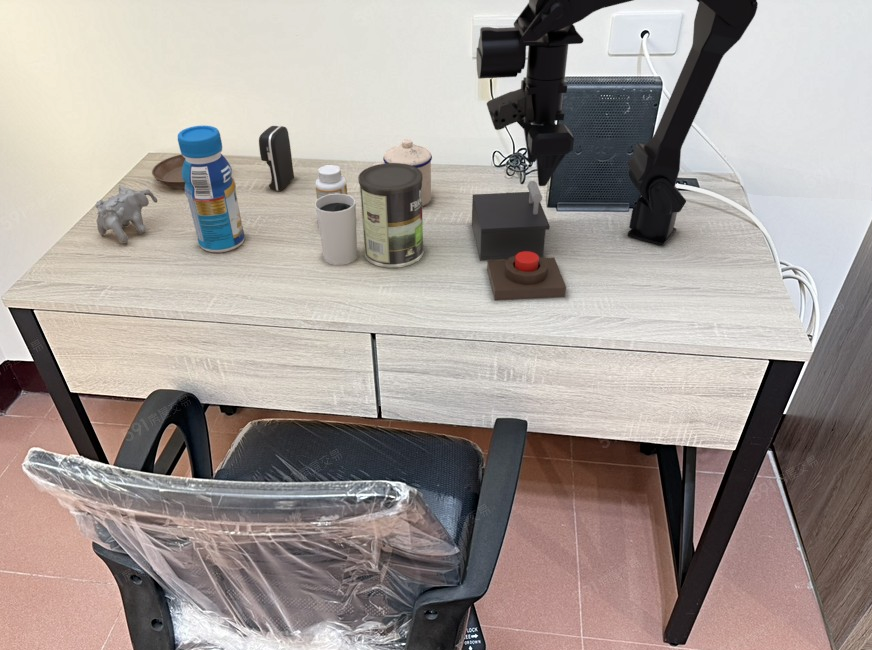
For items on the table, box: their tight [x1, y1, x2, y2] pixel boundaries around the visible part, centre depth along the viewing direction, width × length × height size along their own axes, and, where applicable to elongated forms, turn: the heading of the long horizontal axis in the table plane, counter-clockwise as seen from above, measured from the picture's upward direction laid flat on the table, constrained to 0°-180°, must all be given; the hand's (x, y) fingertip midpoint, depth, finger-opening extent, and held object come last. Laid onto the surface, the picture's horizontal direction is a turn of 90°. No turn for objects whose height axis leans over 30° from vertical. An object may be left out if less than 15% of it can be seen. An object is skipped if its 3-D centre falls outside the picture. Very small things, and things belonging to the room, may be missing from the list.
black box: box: [471, 198, 547, 262], centre depth 122 cm, size 11×13×5 cm
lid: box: [471, 180, 551, 233], centre depth 119 cm, size 11×13×4 cm
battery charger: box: [258, 125, 295, 192], centre depth 141 cm, size 7×4×11 cm, turn 162°
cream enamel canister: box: [371, 139, 433, 207], centre depth 134 cm, size 12×9×12 cm
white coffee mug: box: [314, 194, 358, 266], centre depth 118 cm, size 7×7×10 cm
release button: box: [515, 251, 539, 272], centre depth 111 cm, size 4×4×2 cm
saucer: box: [151, 153, 186, 190], centre depth 147 cm, size 15×15×3 cm
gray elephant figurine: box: [95, 185, 158, 244], centre depth 129 cm, size 9×12×8 cm
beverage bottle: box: [177, 125, 246, 253], centre depth 120 cm, size 8×8×20 cm
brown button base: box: [486, 255, 567, 301], centre depth 112 cm, size 11×9×4 cm
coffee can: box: [357, 162, 424, 269], centre depth 117 cm, size 10×10×14 cm
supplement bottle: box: [315, 164, 348, 200], centre depth 128 cm, size 6×6×10 cm
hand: (536, 173), depth 116 cm, fingers open, 9 cm apart
